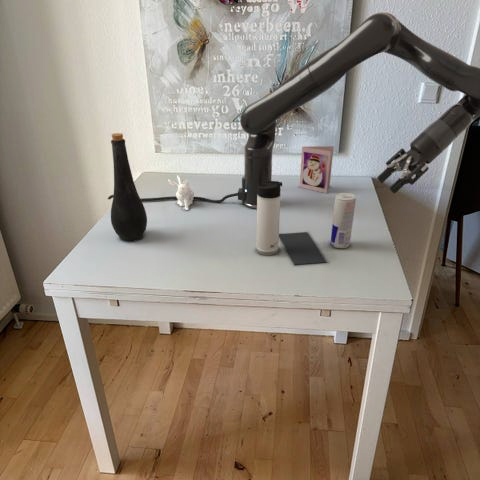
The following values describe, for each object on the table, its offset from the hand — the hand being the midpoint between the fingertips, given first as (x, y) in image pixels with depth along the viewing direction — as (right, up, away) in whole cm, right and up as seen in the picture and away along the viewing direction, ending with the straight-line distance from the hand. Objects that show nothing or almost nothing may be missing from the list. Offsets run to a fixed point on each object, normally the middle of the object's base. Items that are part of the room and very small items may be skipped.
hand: (385, 185), depth 135 cm
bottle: (-73, -12, +14) cm, 76 cm away
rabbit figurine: (-61, +3, +36) cm, 71 cm away
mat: (-22, -16, +7) cm, 29 cm away
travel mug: (-32, -17, +5) cm, 37 cm away
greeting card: (-11, +13, +49) cm, 52 cm away
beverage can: (-11, -15, +8) cm, 21 cm away
